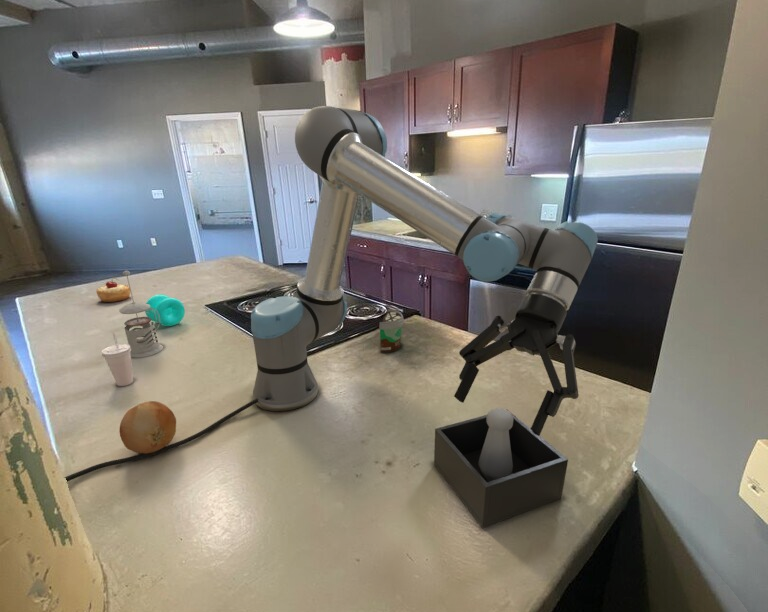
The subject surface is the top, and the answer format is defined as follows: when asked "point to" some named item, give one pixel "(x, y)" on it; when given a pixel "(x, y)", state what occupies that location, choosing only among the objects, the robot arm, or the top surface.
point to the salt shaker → (497, 446)
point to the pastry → (113, 292)
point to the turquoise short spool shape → (165, 310)
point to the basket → (507, 494)
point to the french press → (140, 329)
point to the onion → (147, 427)
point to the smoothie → (119, 362)
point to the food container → (391, 331)
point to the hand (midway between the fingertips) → (494, 415)
